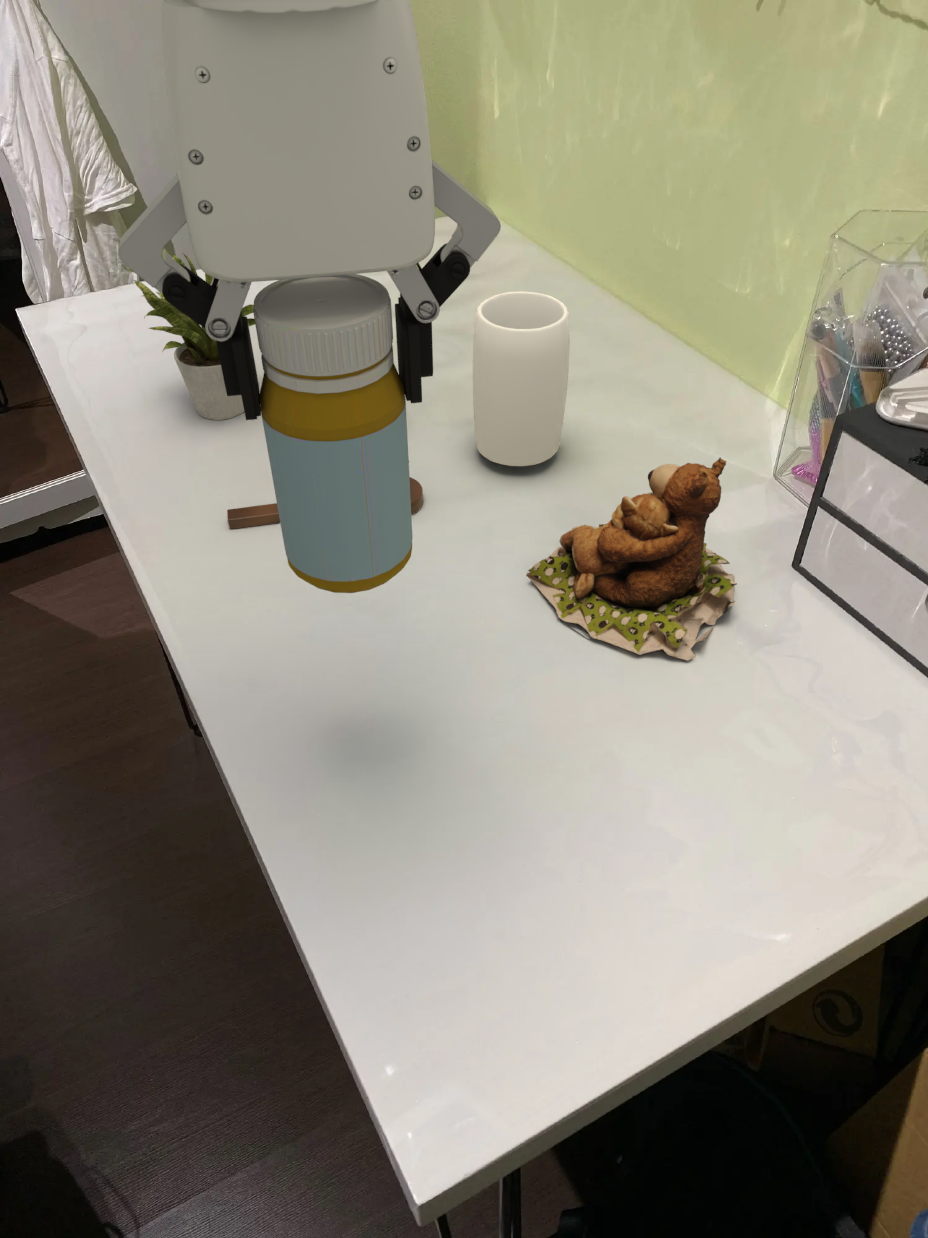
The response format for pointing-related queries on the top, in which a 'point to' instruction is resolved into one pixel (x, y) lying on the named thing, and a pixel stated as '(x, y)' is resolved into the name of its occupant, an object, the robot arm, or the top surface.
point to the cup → (520, 377)
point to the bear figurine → (645, 567)
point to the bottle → (335, 429)
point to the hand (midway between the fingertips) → (332, 394)
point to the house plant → (196, 355)
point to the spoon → (271, 514)
